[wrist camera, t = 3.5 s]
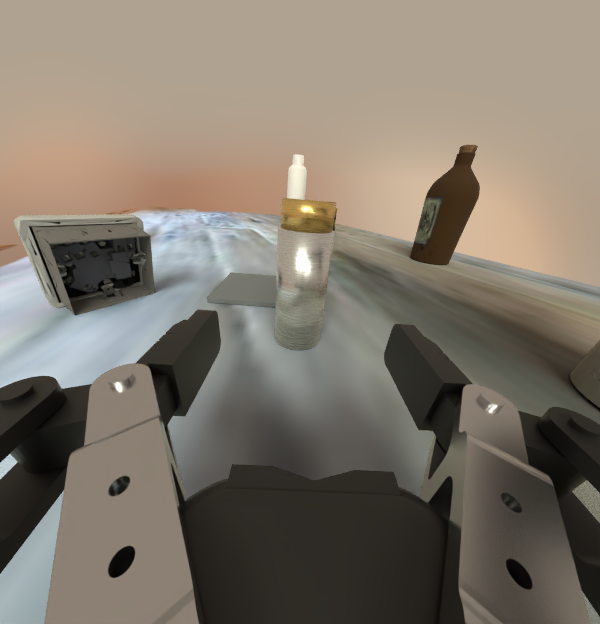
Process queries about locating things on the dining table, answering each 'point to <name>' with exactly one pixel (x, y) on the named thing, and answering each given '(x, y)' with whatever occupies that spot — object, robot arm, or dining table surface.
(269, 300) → the mat
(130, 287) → the electrical switch
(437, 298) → the dining table surface
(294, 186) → the bottle
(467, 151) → the olive oil
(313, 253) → the canister
